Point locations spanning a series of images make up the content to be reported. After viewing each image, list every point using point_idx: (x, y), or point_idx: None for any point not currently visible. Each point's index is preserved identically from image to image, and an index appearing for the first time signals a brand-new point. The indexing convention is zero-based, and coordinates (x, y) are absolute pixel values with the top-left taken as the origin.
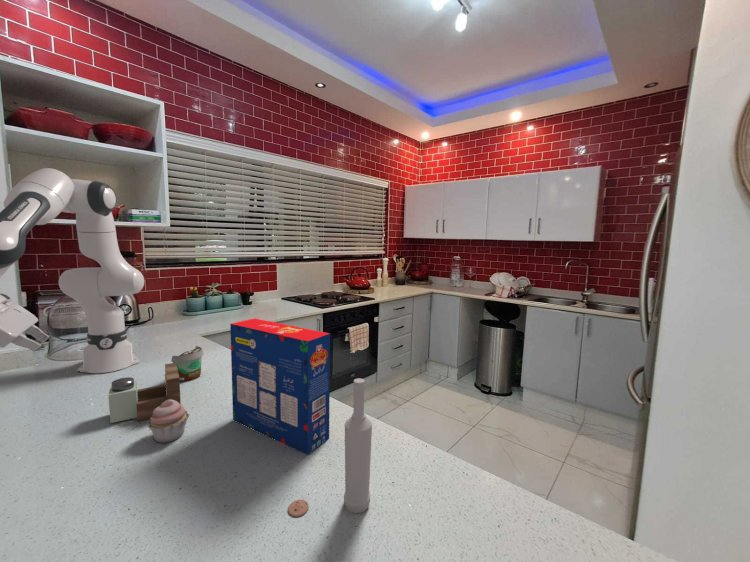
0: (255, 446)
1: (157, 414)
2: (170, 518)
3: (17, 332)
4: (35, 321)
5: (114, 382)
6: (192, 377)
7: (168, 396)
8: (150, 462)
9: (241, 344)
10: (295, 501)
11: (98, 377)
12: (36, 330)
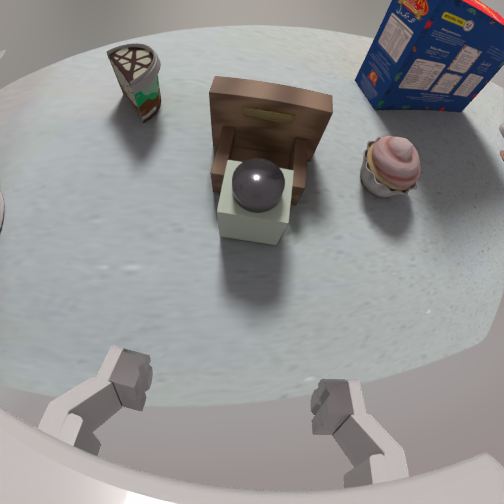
0: (438, 127)
1: (414, 173)
2: (498, 225)
3: (461, 475)
4: (8, 417)
5: (256, 197)
6: (160, 96)
7: (321, 136)
8: (429, 217)
9: (449, 22)
10: (502, 154)
11: (8, 246)
12: (80, 412)
